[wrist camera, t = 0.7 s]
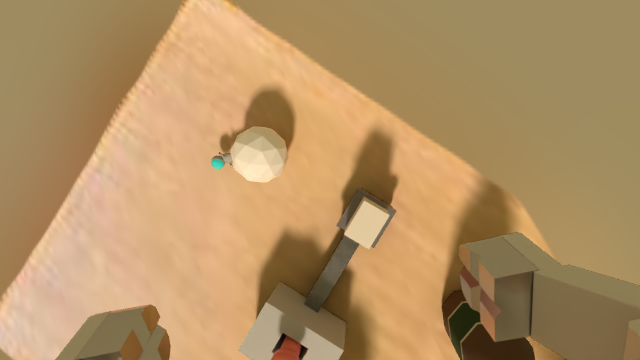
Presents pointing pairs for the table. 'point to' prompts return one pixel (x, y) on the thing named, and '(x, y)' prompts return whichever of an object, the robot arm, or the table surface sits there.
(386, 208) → the cream box
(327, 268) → the rail
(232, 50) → the table surface
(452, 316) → the beer bottle
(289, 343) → the plunger
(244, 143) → the perfume bottle
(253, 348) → the grey holed block
